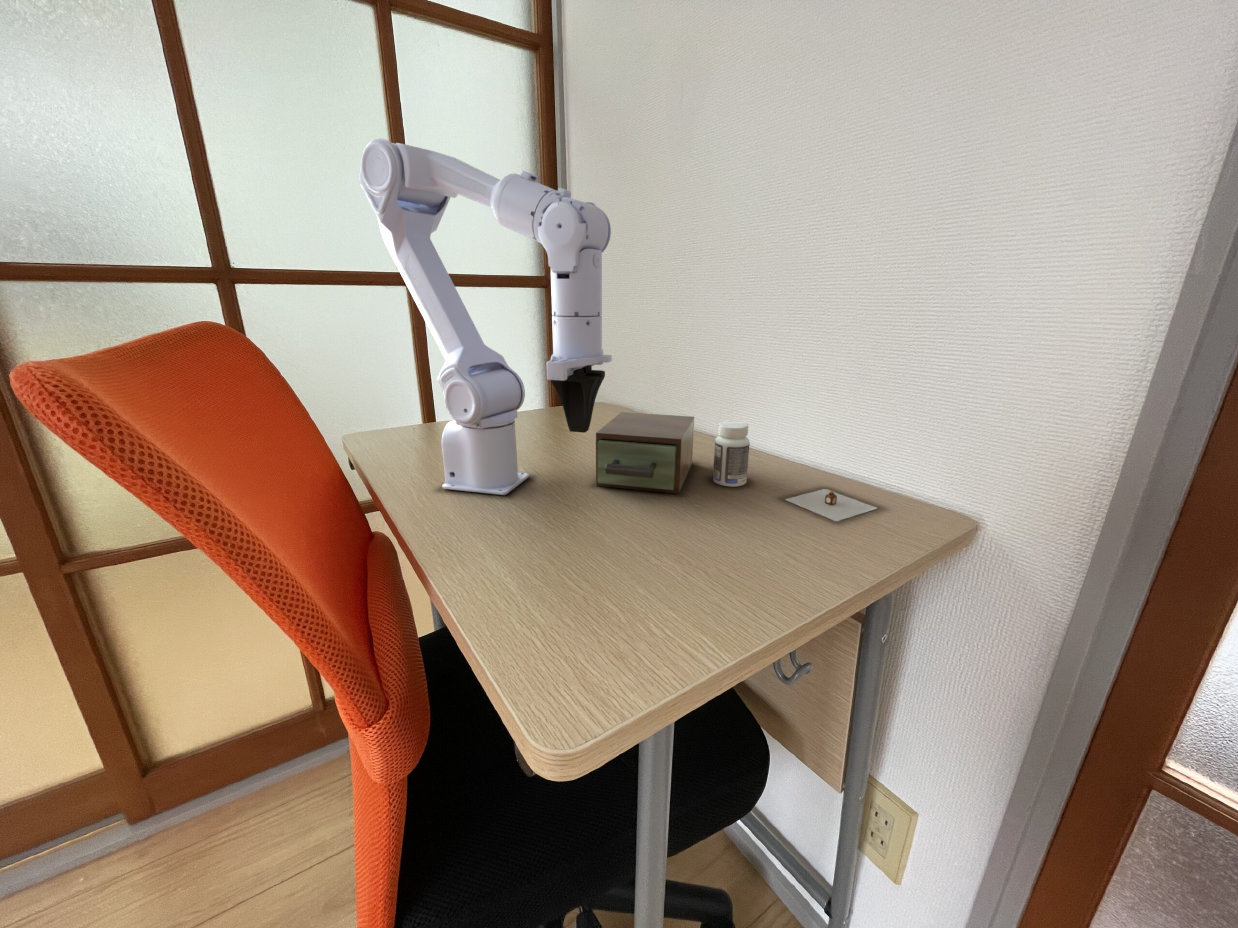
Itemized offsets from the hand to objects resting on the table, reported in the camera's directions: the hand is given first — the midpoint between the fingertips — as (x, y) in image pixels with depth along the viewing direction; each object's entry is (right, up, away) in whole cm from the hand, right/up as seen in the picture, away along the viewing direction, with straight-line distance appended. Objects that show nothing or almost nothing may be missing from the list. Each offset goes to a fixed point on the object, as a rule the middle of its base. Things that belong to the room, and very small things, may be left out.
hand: (579, 430), depth 65 cm
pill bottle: (+21, -7, +11) cm, 24 cm away
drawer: (+8, -6, +10) cm, 14 cm away
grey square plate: (+32, -9, +3) cm, 33 cm away
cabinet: (+9, -6, +13) cm, 17 cm away
